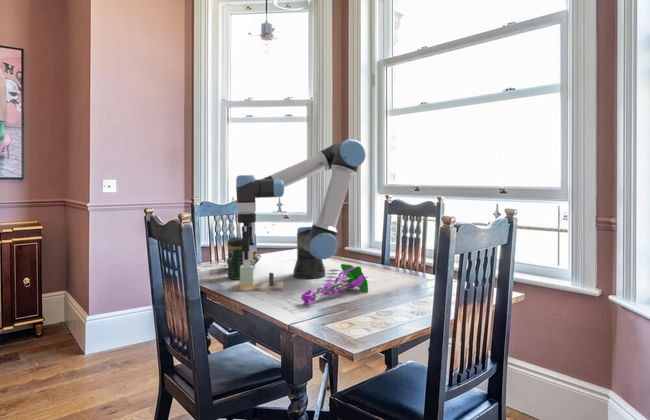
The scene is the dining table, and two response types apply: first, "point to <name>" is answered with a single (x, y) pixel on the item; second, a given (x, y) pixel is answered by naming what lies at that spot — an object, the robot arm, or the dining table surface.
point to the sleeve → (246, 276)
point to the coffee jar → (234, 257)
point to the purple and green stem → (354, 281)
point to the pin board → (262, 285)
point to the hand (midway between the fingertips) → (248, 264)
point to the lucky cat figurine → (255, 258)
